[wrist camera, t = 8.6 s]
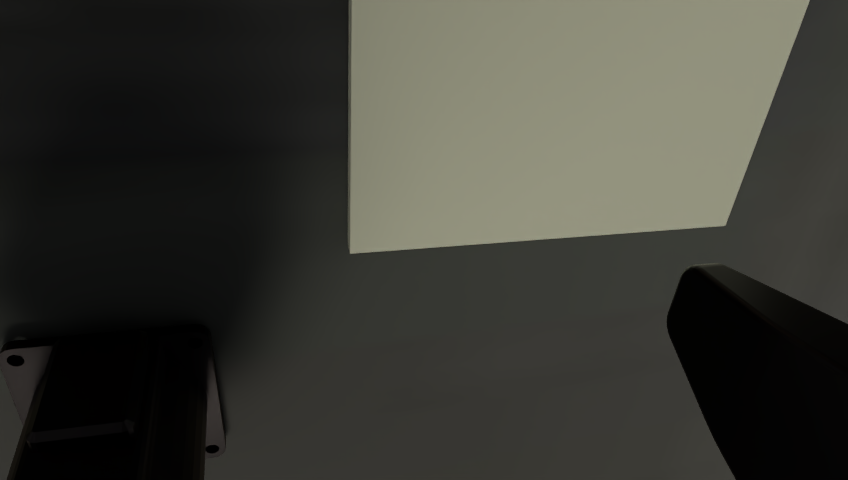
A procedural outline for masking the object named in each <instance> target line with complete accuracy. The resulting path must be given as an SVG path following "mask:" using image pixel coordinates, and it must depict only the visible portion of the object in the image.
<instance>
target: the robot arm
mask: <svg viewBox="0 0 848 480" xmlns="http://www.w3.org/2000/svg"><path fill="white" fill-rule="evenodd" d="M667 329H668V333H669V336H670V339H671V341H672V343H673V346H674V348H675V350H676V353H677V355H678V357H679V360H680V362H681V364H682V367H683V369H684V372H685V374H686V376H687V379H688V381H689V383H690V386H691V388H692V390H693V393H694V395H695V397H696V400H697V402H698V404H699V407H700V409H701V411H702V414H703V416H704V418H705V421H706V423H707V425H708V427H709V429H710V432H711V434H712V436H713V438H714V440H715V442H716V444H717V446H718V448H719V450H720V452H721V453H722V455H723V457H724V459H725V461H726V463H727V465H728V466H729V468H730V470H731V472H732V474H733V475H734V477H735V479H736V480H848V324H846V323H844V322H842V321H840V320H838V319H836V318H834V317H832V316H830V315H828V314H826V313H823V312H821V311H819V310H817V309H815V308H813V307H811V306H809V305H807V304H805V303H803V302H800V301H798V300H796V299H794V298H792V297H790V296H788V295H786V294H784V293H782V292H779V291H777V290H775V289H773V288H771V287H769V286H767V285H765V284H763V283H761V282H759V281H756V280H754V279H752V278H750V277H748V276H746V275H744V274H742V273H740V272H738V271H735V270H733V269H731V268H729V267H727V266H725V265H722V264H718V263H711V264H699V265H692V266H689V267H687V268H686V269H685V270H684V271H683V273H682V275H681V277H680V280H679V283H678V286H677V289H676V292H675V295H674V297H673V300H672V303H671V306H670V309H669V312H668V315H667ZM190 338H199V339H200V340H197V341H192V340H190ZM12 355H19V356H21V357H22V358H16V357H14V356H12ZM0 368H1V370H2V373H3V375H4V378H5V381H6V383H7V386H8V388H9V391H10V393H11V396H12V398H13V401H14V404H15V406H16V409H17V411H18V414H19V416H20V419H21V421H22V424H23V429H22V433H21V436H20V439H19V442H18V445H17V448H16V452H15V455H14V458H13V461H12V464H11V467H10V470H9V474H8V477H7V480H204V471H205V459H207V458H214V457H218V456H220V455H222V454H223V453H224V452H225V449H226V436H225V429H224V423H223V416H222V409H221V402H220V395H219V388H218V381H217V375H216V368H215V361H214V354H213V347H212V340H211V334H210V331H209V330H208V329H207V328H206V327H205V326H202V325H199V324H191V325H180V326H169V327H158V328H147V329H137V330H126V331H115V332H104V333H93V334H82V335H71V336H61V337H50V338H39V339H28V340H17V341H11V342H8V343H6V344H5V345H4V346H3V347H2V349H1V352H0Z"/></svg>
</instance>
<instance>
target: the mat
mask: <svg viewBox="0 0 848 480" xmlns="http://www.w3.org/2000/svg"><path fill="white" fill-rule="evenodd" d="M809 1H810V0H349V47H348V247H349V251H350V254H353V253H366V252H379V251H393V250H406V249H420V248H433V247H447V246H460V245H473V244H487V243H500V242H514V241H527V240H541V239H554V238H567V237H581V236H594V235H608V234H621V233H635V232H648V231H661V230H675V229H688V228H702V227H715V226H725V225H726V222H727V220H728V217H729V214H730V212H731V209H732V206H733V204H734V201H735V198H736V196H737V193H738V190H739V188H740V185H741V182H742V180H743V177H744V174H745V172H746V169H747V166H748V164H749V161H750V158H751V156H752V153H753V150H754V148H755V145H756V142H757V140H758V137H759V134H760V132H761V129H762V126H763V124H764V121H765V118H766V116H767V113H768V110H769V108H770V105H771V102H772V100H773V97H774V94H775V92H776V89H777V86H778V84H779V81H780V78H781V76H782V73H783V70H784V68H785V65H786V62H787V60H788V57H789V54H790V52H791V49H792V46H793V44H794V41H795V38H796V36H797V33H798V30H799V28H800V25H801V22H802V20H803V17H804V14H805V12H806V9H807V6H808V4H809Z"/></svg>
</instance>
